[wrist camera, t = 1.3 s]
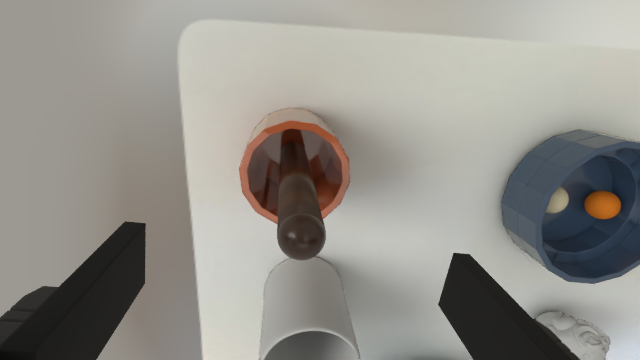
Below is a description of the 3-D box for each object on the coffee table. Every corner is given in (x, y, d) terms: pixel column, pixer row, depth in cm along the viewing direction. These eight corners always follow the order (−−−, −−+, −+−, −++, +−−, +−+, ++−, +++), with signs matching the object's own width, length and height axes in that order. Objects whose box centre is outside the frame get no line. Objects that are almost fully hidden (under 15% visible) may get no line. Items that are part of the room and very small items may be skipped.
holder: (253, 101, 32) (244, 113, 25) (342, 114, 34) (359, 129, 26) (245, 185, 35) (234, 220, 27) (328, 195, 36) (340, 230, 28)
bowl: (523, 120, 36) (569, 131, 30) (645, 139, 38) (709, 153, 32) (482, 246, 40) (515, 277, 34) (594, 257, 42) (642, 288, 36)
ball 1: (532, 178, 37) (553, 188, 34) (558, 181, 37) (580, 191, 35) (523, 204, 38) (542, 216, 35) (548, 208, 38) (569, 219, 35)
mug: (261, 257, 38) (252, 332, 27) (341, 251, 38) (362, 322, 28) (270, 348, 41) (265, 444, 31) (342, 341, 42) (362, 432, 32)
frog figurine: (575, 324, 45) (626, 370, 38) (523, 347, 45) (565, 396, 38) (566, 288, 43) (617, 329, 36) (512, 312, 43) (553, 357, 37)
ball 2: (583, 185, 38) (607, 195, 35) (608, 188, 38) (633, 198, 35) (573, 210, 39) (595, 222, 36) (597, 213, 39) (621, 225, 36)
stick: (282, 138, 33) (280, 221, 16) (307, 141, 34) (332, 226, 16) (279, 162, 34) (273, 268, 17) (303, 165, 34) (324, 272, 17)
